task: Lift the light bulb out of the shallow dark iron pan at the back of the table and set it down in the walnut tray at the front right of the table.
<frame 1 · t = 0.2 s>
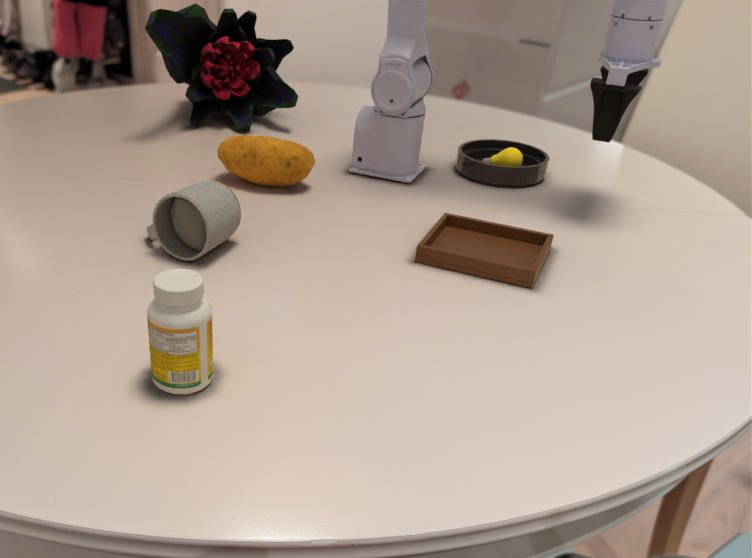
hand: (605, 132, 95), 10 cm above the table, tool pointing down, fingers open, 7 cm apart
light bulb: (499, 171, 111), resting in pan
ceramic mug: (189, 247, 87), on the table
pan: (499, 172, 111), on the table
decorative plant: (229, 123, 129), on the table
tray: (483, 255, 86), on the table
supplement bottle: (183, 379, 65), on the table
potato: (265, 184, 105), on the table
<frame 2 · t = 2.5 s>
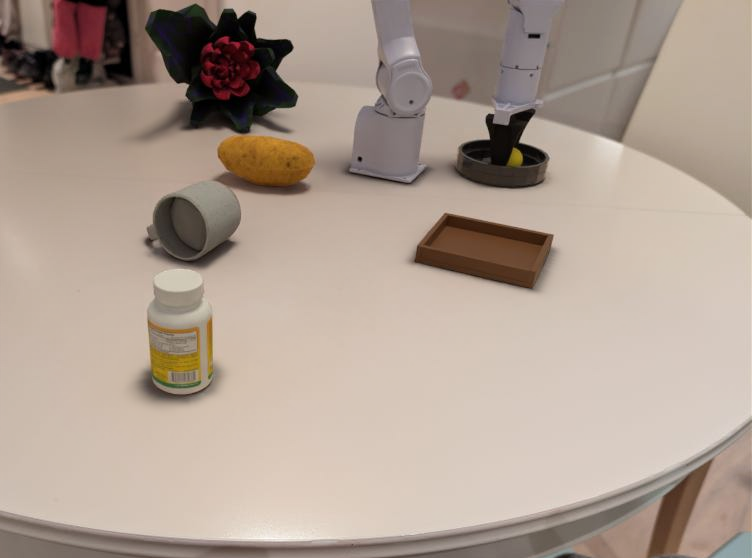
hand: (501, 161, 110), 2 cm above the table, tool pointing down, fingers closed on light bulb, 3 cm apart
light bulb: (499, 171, 111), resting in pan, touching gripper
everything else where it was.
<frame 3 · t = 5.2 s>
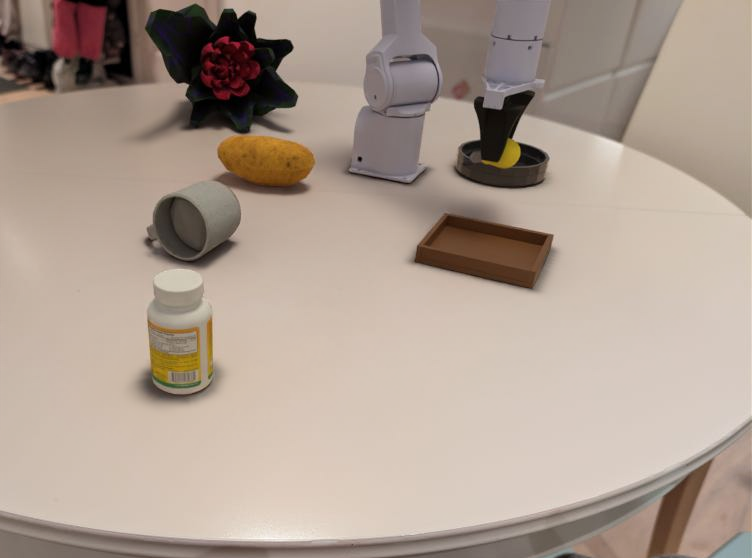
hand: (493, 155, 90), 8 cm above the table, tool pointing down, fingers closed on light bulb, 3 cm apart
light bulb: (492, 167, 91), point 7 cm above the table, touching gripper
everything else where it was.
when the fingers open (2 cm above the table, at t = 7.9 s): light bulb stays where it is, resting on tray.
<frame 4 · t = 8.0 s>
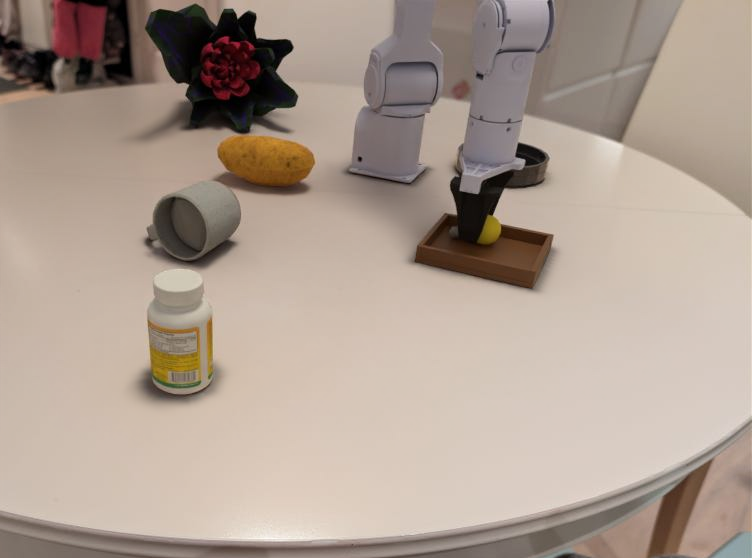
hand: (473, 232, 88), 2 cm above the table, tool pointing down, fingers open, 5 cm apart
light bulb: (472, 242, 88), resting on tray
everything else where it was.
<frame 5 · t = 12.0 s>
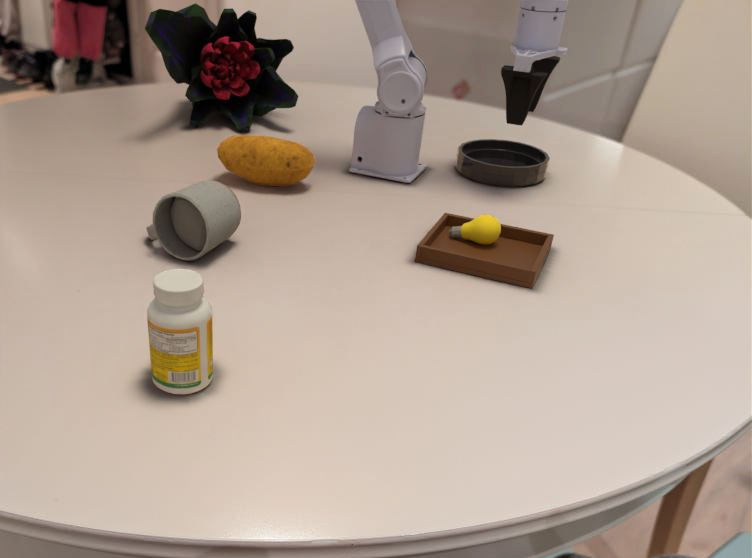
hand: (520, 117, 102), 9 cm above the table, tool pointing down, fingers open, 7 cm apart
nothing on the table moved.
at the end: light bulb inside the target area on the tray (2.8 cm from its centre), point 0.4 cm above the tray's base; light bulb moved 28.2 cm from its start; the gripper is holding nothing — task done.
